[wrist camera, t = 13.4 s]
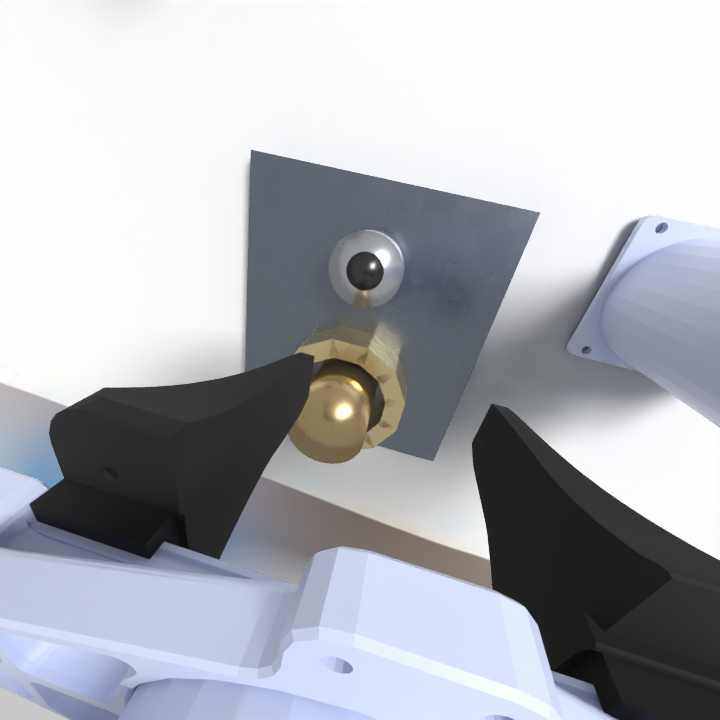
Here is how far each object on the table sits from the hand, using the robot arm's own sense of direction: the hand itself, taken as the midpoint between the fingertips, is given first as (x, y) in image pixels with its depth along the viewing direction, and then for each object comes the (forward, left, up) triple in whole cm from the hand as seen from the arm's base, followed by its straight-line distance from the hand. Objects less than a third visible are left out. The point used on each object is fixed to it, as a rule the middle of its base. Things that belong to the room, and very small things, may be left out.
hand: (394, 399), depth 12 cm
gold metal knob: (+3, +5, -8) cm, 10 cm away
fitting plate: (+3, +1, -9) cm, 10 cm away
